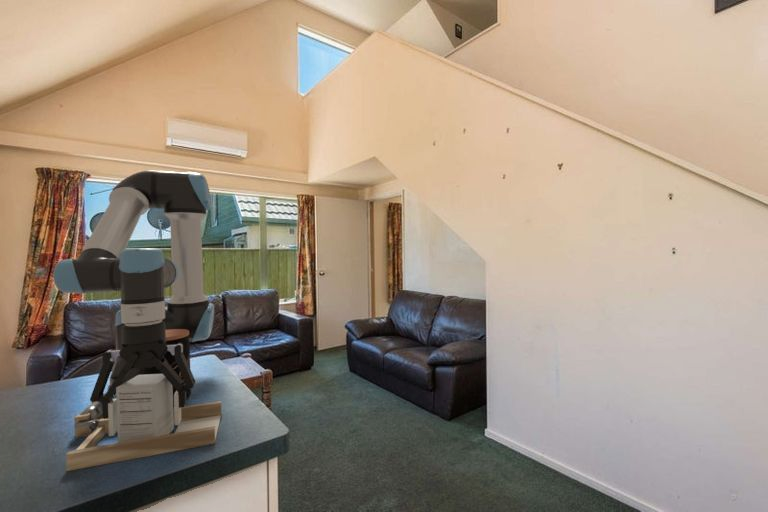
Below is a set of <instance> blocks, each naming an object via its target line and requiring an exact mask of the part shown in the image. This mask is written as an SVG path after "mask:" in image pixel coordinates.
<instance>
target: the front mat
mask: <svg viewBox="0 0 768 512" xmlns="http://www.w3.org/2000/svg"><path fill="white" fill-rule="evenodd" d="M221 416H222V414H221V415H218V416H212V417H206V418H199V419H193V420H187V421H181V422H180V423H179V425H177V428H176V430H175V432H174V433H178V432H184V431H190V430H196V429H202V428H208V427H213V426H215V440H216V439H217V435H218V430H219V425H220V421H221Z"/></svg>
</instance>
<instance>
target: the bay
mask: <svg viewBox="0 0 768 512" xmlns="http://www.w3.org/2000/svg"><path fill="white" fill-rule="evenodd" d="M222 413H223V412H222V400H218V401H211V402H205V403H199V404H198V403H197V404H191V405H185V406H184V407H181V421H187V420H193V419H199V418H206V417H212V416H218V415H221V416H222ZM173 417H174V407H173ZM181 421H180V422H181ZM174 424H175V418H174ZM107 434H108V435H109V420H108V419H104V418H103V419H100V420H99V424H98V425H97V426H96V428H94V430H93V431H91V434H90V435H89V436H86V438H85V440H84V441H82V443H81V444H80V445H79V446H78V447H77V448H76V449H74V450H69V451H68V452H67V453H66V454H65V461H66V468H65V469H66V472H70V471H77V470H81V469H85V468H87V469H88V468H92V467H96V466H102V465H108V464H111V463H112V464H113V463H119V462H123V461H130V460H133V459H134V460H135V459H139V458H146V457H151V456H155V455H161V454H167V453H171V452H177V451H183V450H188V449H192V448H199V447H205V446H210V445H215V444H214V443H215V442H216V439H215V426H213V427H208V428H202V429H196V430H190V431H184V432H178V433H175V432H174V433H172V432H171V433H169V434H167V435H161V436H155V437H149V438H143V439H137V440H131V441H126V442H120V443H118V442H114V443H109V444H103V445H98V443H99V442H100V441H101V440H102V439H103V437H104V436H105V435H107ZM209 444H210V445H209ZM96 445H98V446H96ZM204 445H205V446H204ZM198 446H199V447H198Z"/></svg>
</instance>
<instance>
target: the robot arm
mask: <svg viewBox="0 0 768 512" xmlns="http://www.w3.org/2000/svg"><path fill="white" fill-rule="evenodd" d="M108 201H109V204H108V206H107V208H106V209H105V211H104V213H103V214H102V216H101V218H100V219H99V221H98V223H97V224H96V226H95V228H94V229H93V231H92V233H91V235H90V237H89V239H88V240H87V241H86V243H85V245H84V246H83V249H82V250H81V252H80V253H79V255H78V256H77V258H72V257H71V258H68V259H62V260H60V261H58V262H57V263H56V264H55V266H54V269H53V275H52V276H53V283H54V285H55V286H56V289H57V290H58V291H60V292H61V293H65V294H87V293H89V294H90V293H91V294H93V293H106V292H120V309H119V310H118V311H117V312H116V313H115V324H114V327H115V328H114V329H115V330H114V331H115V350H114V349H108V350H106V351H105V352H104V353H102V355H101V356H102V357H101V358H102V365H101V367H100V368H101V369H100V371H99V374H98V376H97V379H96V381H95V385H94V387H93V390H92V393H91V395H90V398H89V401H90V402H95V401H96V402H101V403H102V410H103V418H104V419H108V420H109V434H108V437H113V436H115V435H116V433H117V402H116V397H115V398H114V396H116V387H118V386H120V385H122V384H123V383H125V382H127V381H129V380H130V379H132V378H134V377H136V376H137V375H142V368H143V367H146V368H150V367H153V366H155V367H156V368H157V369H158V370H160V371H161V372H162V374H163V375H164V376H165V377H166V378H167V380H168V381H169V382H170V383H171V384H172V385H173V387H174V388H175V389H176V390H177V391H176V392H175V394H174V407H173V408H174V418H175V423H174V426H178V425H179V423H180V421H181V407H184V406H186V404H187V400H186V391H187V390H188V389H191V390H192V389H194V387H195V385H196V380H195V377H194V375H193V372H192V370H191V366H190V367H189V365H188V363H187V361H186V358H185V356H184V354H183V344H182V343H178V344H177V345H168V344H167V342H166V330H170V329H186V330H189V335H188V336H187V338H188V339H189V341H190V343H191V342H192V343H194V342H197V341H198V342H199V341H206V340H207V339H209V337H210V335H211V334H212V330H213V326H214V325H213V324H214V317H215V304H214V303H211V302H210V300H209V297H208V296H207V295H205V293H204V275H203V274H204V273H203V272H204V271H203V269H204V268H203V244H202V243H203V242H202V241H203V240H202V238H203V237H202V221H203V220H204V218H205V217H206V216H207V211H209V210H211V209H212V198H211V192H210V187H209V183H208V181H207V179H206V176H205V175H203V174H202V173H200V172H199V173H198V172H193V171H173V170H171V171H170V170H151V169H149V170H142V171H139V172H136V173H133V174H131V175H130V176H128V177H125V178H124V179H123V180H121V181H120V182H118V183H117V184H116V185H115V186H114V187H113V189H112V190H111V192H110V194H109V196H108ZM151 209H162V210H163V212H164V216H166V217H167V218H168V219H169V221H170V249H171V251H170V253H171V259H170V258H167V257H165V256H164V251H163V250H162V249H160V248H149V247H148V248H127V246H128V244H129V242H130V240H131V238H132V236H133V233H134V231H135V229H136V227H137V225H138V223H139V220H140V218H141V216H142V215H144V214H146V213H147V212H148V211H149V210H151ZM170 286H172V295H171V297H169V299H168V300H167V306H166V303H165V289H166V288H169V287H170ZM167 351H170V352H171V354H172V355H175V360H176V362H177V365H178V367H179V369H180V371H181V374H182V376H183V378H184V381H185V383H184V382H183V381H182V379H181V378H180V377H179V376H178V375H177V373H176V372H175V371H174V370H173V369H172V367H171V366H170V365H169V364H168V362H167V360H166V359H165V358H164V355H165V353H166V352H167ZM108 381H109V388H108V389H107V391H106V392H105V389H106V386H107V383H108Z"/></svg>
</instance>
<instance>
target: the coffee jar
mask: <svg viewBox="0 0 768 512" xmlns="http://www.w3.org/2000/svg"><path fill="white" fill-rule="evenodd" d="M188 335H189V330H186V329H170V330H166V342H167V344H168V345H177V344H178V343H182V344H183V354H184V356H185V358H186V361H187V363H188V365H189V367H190V368H191V350H190V349H191V348H190V347H191V346H190V345H191V344H190V343H191V342H190V341H189V339H188V338H187V336H188ZM164 358H165V359H166V360H167V362H168V364H169V365H170V366H171V367H172V369H173V370H174V371H175V372H176V373H177V375H178V376H179V377H180V378H181V379H182V381H183V382H184V383H185V381H184V378H183V376H182V374H181V371H180V369H179V367H178V365H177V362H176V360H175V355H172V354H171V352H170V351H167V352H166V353H165V355H164ZM145 374H162V372H161V371H160V370H158V369H157V368H156V367H155V366H153V367H150V368H146V367H143V368H142V375H145ZM172 388H173V406H174V394H175V392H176V391H177V390H176V389H175V388H174V387H173V385H172ZM191 394H192V389H188V390H187V391H186V401H188V400H189V397H190V396H191Z"/></svg>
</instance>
